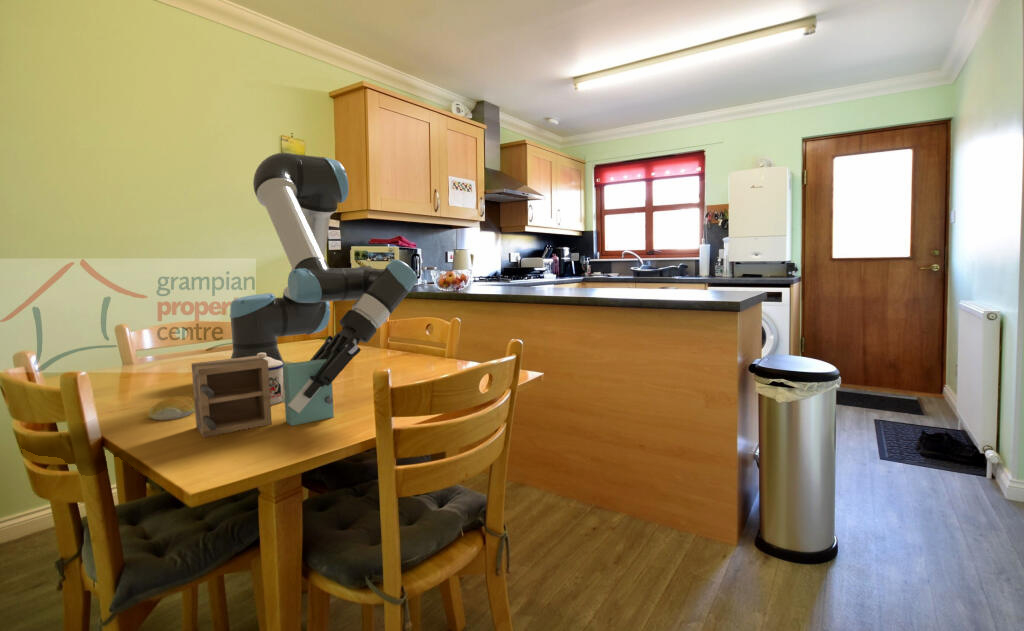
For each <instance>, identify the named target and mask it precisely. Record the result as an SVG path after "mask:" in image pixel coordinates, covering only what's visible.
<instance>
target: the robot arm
mask: <svg viewBox="0 0 1024 631" xmlns="http://www.w3.org/2000/svg"><path fill="white" fill-rule="evenodd" d="M252 186H253V191H254V194H255V196H256V200H258V202H259V204H260V205H261V206H263V207H264V208H265V209H266V211H267V213H268V215H269V218H270V220H271V223H272V225H273V227H274V230H275V232H276V234H277V236H278V239H279V241H280V243H281V246H282V249H283V250H284V253H285V255H286V257H287V260H288V262H289V264H290V267H291V270H290V272H289V274H288V278H287V286H286V287H285V288H284V289H283V292H282V295H283V296H282V297H276V295H275V294H274V293H272V292H271V293H259V294H252V295H251V294H250V295H246V296H242V297H238V298H235V299H233V300H232V301H231V302H230V307H229V308H230V309H229V312H230V313H229V318H230V327H231V340H232V342H231V343H232V353H231V356H230V359H233V358H242V357H250V356H257V354H258V353H266V357H271V358H273V359H275V360H279V361H282V363H283V364H285V362H284V360H283V356H282V355H281V352H280V351H279V347H278V337H288V336H289V337H291V336H299V335H300V336H301V335H312V334H315V333H316V334H317V333H320V332H322V331H323V330H325V329H326V327H328V324H329V322H330V317H331V309H330V308H331V305H330V304H331V303H330V302H338V301H339V302H340V301H343V302H344V301H355V302H354V303H353V304H352V306H351V309H349V310H348V311H347V312H346V313H345V314H344V315H343V316H342V317H341V319H340V320H339V324H340V326H341V327H342V329H341V330H340V331H339V332H338V333H336V334H335V335H334V336H332V335H328V336H327V338H326V339H325V341H324V342H323V344H322V345H321V346H320V347H319V349H318V350H317V351H316V352H315V354H313V356H312V357H311V359H309V361H312V360H320V359H327V360H326V361H325V363H324V364H323V365H322V367H321V368H320V369H319V371H318V372H317V374H316V375H315V376H310V378H311V379H312V380H313V381H312V380H311V379H309V380H308V382H307V383H306V384H305V385H304V386H303V387H302V389H301V390H300V391H299V392H298V393H297V395H296V396H295V397H294V398H293V399H292V400H291V402H290V403H289V404H288V406H289V407H291V408H292V409H294V410H295V411H296V412H298V413H300V412H301V411H302V409H303V408H304V407H305V406H306V405H307V403H308V402H309V401H310V400H311V399H312V397H313V396H314V395H315V394H316V393H317V391H318V390H319V389H320V388H321V387H323V386H324V385H326V386H329V385H330V384H331V383H332V384H333V381H334V380H335V379H336V378H337V377H338V376H339V374H340V373H341V372H342V371H343V370H344V369H345V368H346V367H347V365H348V364H349V363H350V362H351V361H352V359H354V357H356V356H357V355H358V354H359V353H360V352H361V348H360V347H359V346H358V345H359V344H360V342H361V343H365V344H366V343H368V342H370V341H371V339H372V338H373V337H374V336H375V334H376V333H377V329H379V328H381V326H382V325H383V324H385V323H387V322H388V318H389V317H390V316H391V314H392V313H394V311H395V310H396V308H398V306H399V305H400V303H401V302H403V300H404V299H405V298H406V297H407V295H409V293H411V291H412V289H413V287H414V286H415V285H416V283H417V281H418V275H417V273H416V272H415V270H414V269H412V267H410V266H411V265H408V264H407V263H405V262H404V261H403V260H399V259H393V260H392V261H390V262H389V263H388V264H386V265H385V268H374V267H371V266H357V267H342V268H341V267H336V268H335V267H329V264H328V263H327V261H326V252H327V251H326V250H327V244H328V235H329V229H330V228H329V227H330V221H331V216H332V215H333V214H334V213H336V212H337V211H338V205H339V204H341V203H345V201H346V200H347V199H348V196H349V187H350V186H349V179H348V175H347V173H346V169H345V167H344V166H343V165H342V163H341V162H340V161H339V160H336V159H333V158H327V157H325V156H324V157H323V156H314V155H306V154H304V155H303V154H297V153H289V152H278V153H273V154H272V155H269V156H268V157H266V158H265V159H263V160H262V161H261V162H260V164H259V165H258V166H257V168H256V170H255V172H254V176H253V184H252ZM281 401H282V403H283V404H285V396H284V398H283V399H282V400H281Z"/></svg>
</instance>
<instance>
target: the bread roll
mask: <svg viewBox="0 0 1024 631" xmlns="http://www.w3.org/2000/svg"><path fill="white" fill-rule="evenodd" d="M193 413H195V402H194V399H192V398H191V397H189V396H185V395H175V396H172V397H168V398H166V399H163V400H160V401H159V402H156V404H154V405H153V406H152V407H151V408H150V410H149V412H148V415H149V418H150V419H152V420H154V421H167V420H168V421H170V420H177V419H182V418H184V417H189V416H190V415H192V414H193Z"/></svg>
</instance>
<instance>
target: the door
mask: <svg viewBox="0 0 1024 631" xmlns="http://www.w3.org/2000/svg"><path fill="white" fill-rule="evenodd" d="M326 360H327V359H320V360H312V361H310V360H307V361H298V362H289V363H284V364H283V382H284V397H285V403H284V409H285V410H284V412H285V422H286V423H287V424H289V425H290V426H291V427H292V426H297V425H298V426H299V425H301V424H307V423H312V422H317V421H321V420H326V419H331V418H334V416H335V415H334V394H333V382H332V383H331V384H330V385H329V386H326V385H324V386H323V387H321V388H320V389H319V390H318V391H317V393H316V394H315V395H314V396H313V397H312V399H311V400H310V401H309V402H308V403H307V405H306V406H305V407H304V408H303V409H302V411H301V412H300V413H298V412H296V411H295V410H294V409H292V408H291V407H289V406H288V404H289V403H290V402H291V400H292V399H293V398H294V397H295V396H296V395H297V393H298V392H299V391H300V390H301V389H302V387H303V386H304V385H305V384H306V383H307V382H308V380H309V379H311V378H310V376H315V375H316V374H317V372H318V371H319V369H320V368H321V367H322V365H323V364H324V363H325V361H326ZM311 380H312V379H311ZM312 381H313V380H312Z"/></svg>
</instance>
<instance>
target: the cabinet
mask: <svg viewBox="0 0 1024 631" xmlns="http://www.w3.org/2000/svg"><path fill="white" fill-rule="evenodd" d="M191 374H192V390H193V398H194V399H193V401H194V402H195V411H194V413H195V425H196V426H195V427H196V429H197V430H198V432H199V433H200V435H201V436H202V437H203V438H208V437H214V436H218V434H220V435H223V434H222V433H225V434H229V433H228V432H230V433H233V432H232V431H235V432H238V431H237V430H240V431H243V430H242V429H245V430H248V428H250V429H254V428H253V427H255V428H259V427H258V426H260V427H263V426H269V425H272V423H273V422H272V410H271V409H272V408H271V407H272V405H271V404H270V388H269V372H268V361H267V360H265V359H263V358H261V357H259V356H250V357H242V358H233V359H231V358H227V359H225V358H224V359H219V360H207V361H200V362H192V363H191Z"/></svg>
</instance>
